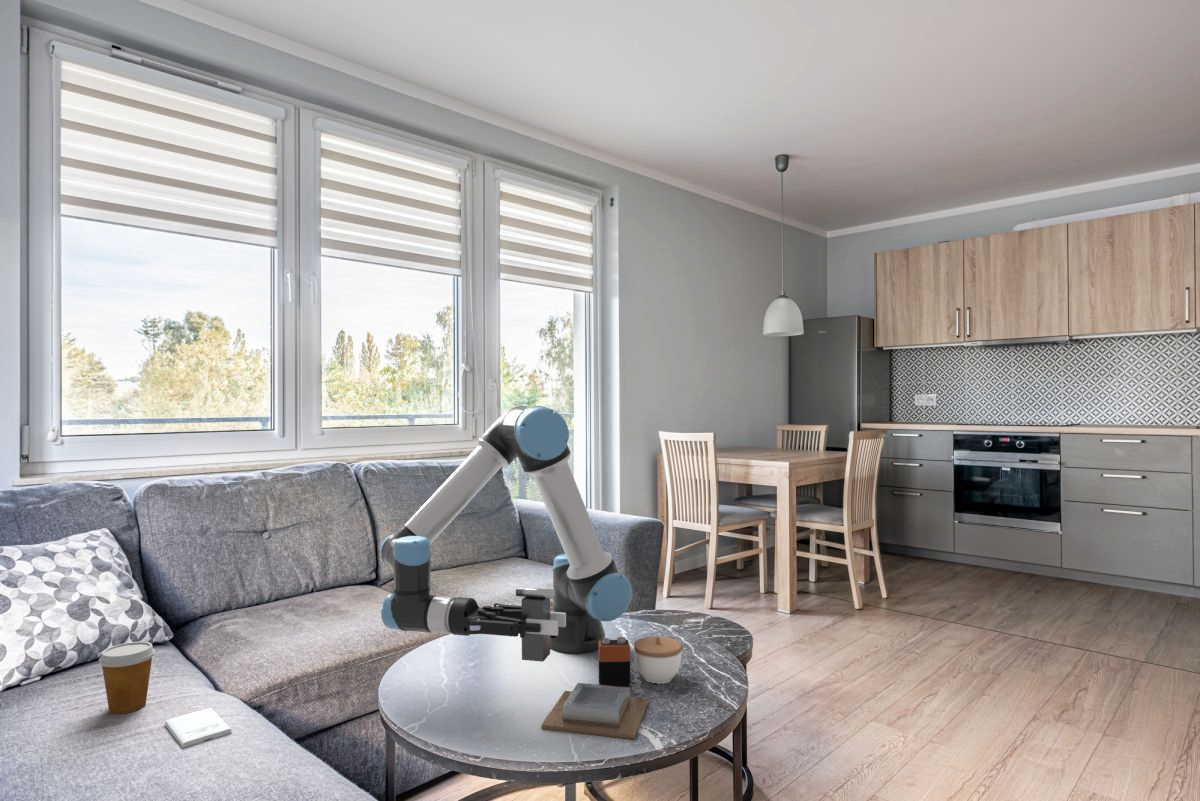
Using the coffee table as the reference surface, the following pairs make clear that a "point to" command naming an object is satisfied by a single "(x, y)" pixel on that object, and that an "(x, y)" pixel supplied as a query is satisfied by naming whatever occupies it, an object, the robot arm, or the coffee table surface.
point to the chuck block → (597, 711)
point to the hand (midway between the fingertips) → (561, 623)
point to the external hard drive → (197, 727)
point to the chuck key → (535, 608)
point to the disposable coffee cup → (127, 675)
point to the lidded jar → (658, 658)
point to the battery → (614, 662)
